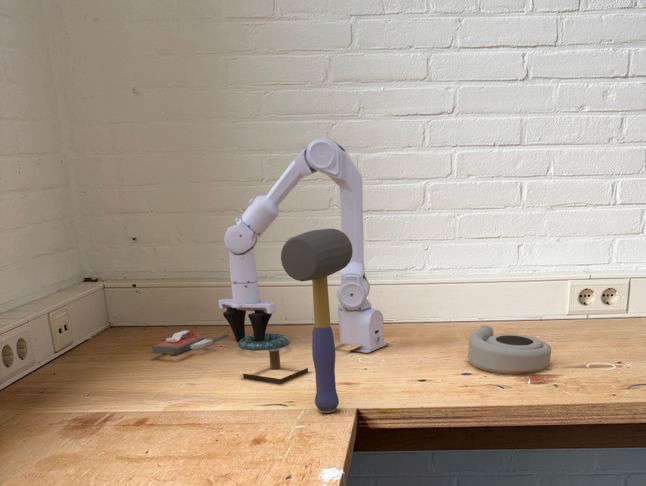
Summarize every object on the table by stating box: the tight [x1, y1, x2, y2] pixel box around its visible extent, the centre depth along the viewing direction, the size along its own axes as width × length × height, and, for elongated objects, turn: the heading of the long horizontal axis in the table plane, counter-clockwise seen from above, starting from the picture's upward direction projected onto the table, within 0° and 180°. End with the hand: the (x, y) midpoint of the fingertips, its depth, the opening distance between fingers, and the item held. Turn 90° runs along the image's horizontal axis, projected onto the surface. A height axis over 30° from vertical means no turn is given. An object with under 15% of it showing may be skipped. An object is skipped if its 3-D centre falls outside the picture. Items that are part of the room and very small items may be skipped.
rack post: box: [242, 348, 309, 385], centre depth 156 cm, size 9×9×5 cm
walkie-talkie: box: [151, 330, 229, 357], centre depth 177 cm, size 9×4×20 cm
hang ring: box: [237, 332, 291, 352], centre depth 176 cm, size 11×11×3 cm
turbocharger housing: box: [467, 324, 552, 375], centre depth 159 cm, size 17×6×15 cm
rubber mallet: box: [280, 228, 353, 414], centre depth 130 cm, size 12×8×30 cm, turn 157°
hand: (250, 342), depth 178 cm, fingers open, 5 cm apart
